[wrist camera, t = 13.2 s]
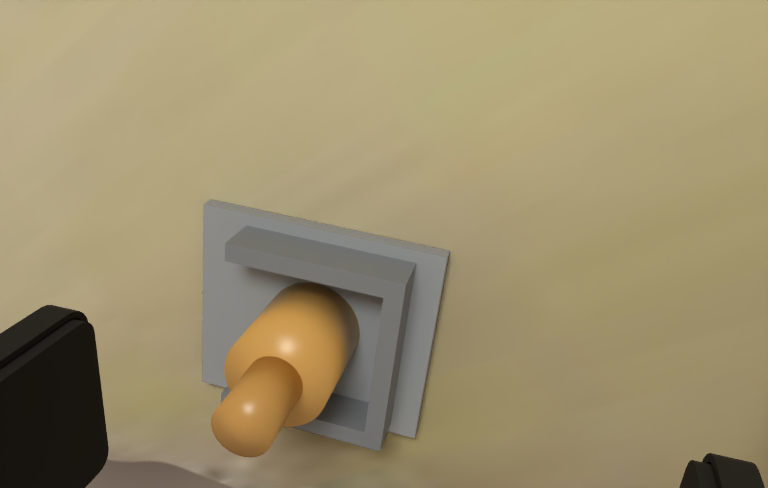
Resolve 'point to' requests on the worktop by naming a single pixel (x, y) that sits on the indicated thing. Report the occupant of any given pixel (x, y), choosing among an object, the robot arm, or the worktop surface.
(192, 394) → the worktop surface
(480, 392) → the worktop surface
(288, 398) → the amber bottle
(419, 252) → the u rest
